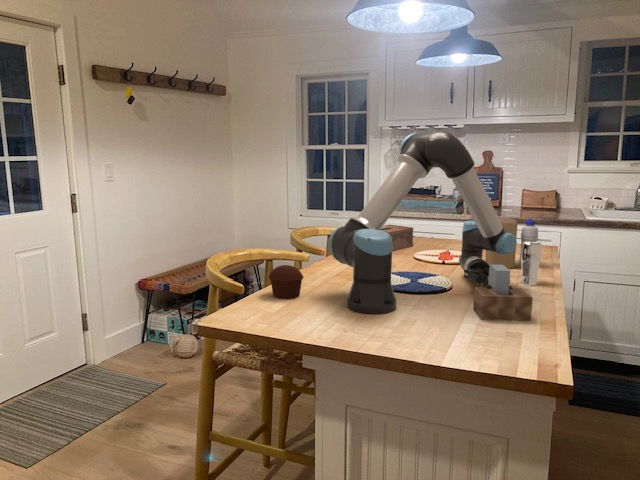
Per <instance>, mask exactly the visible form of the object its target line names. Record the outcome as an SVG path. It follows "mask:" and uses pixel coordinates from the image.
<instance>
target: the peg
mask: <svg viewBox="0 0 640 480" xmlns="http://www.w3.org/2000/svg"><path fill="white" fill-rule="evenodd" d="M510 281H511V269H508V268H506V267H505V266H504V265H491V264H490V265H489V281H488V285H491V289H492V290H493V291H494V292H495V293H496V294H497V295H509V285H511V284H510Z"/></svg>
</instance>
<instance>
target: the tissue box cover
mask: <svg viewBox="0 0 640 480" xmlns="http://www.w3.org/2000/svg"><path fill="white" fill-rule="evenodd" d="M380 231H384V232H386V233H388V234H389V235H390V236H391V238H392V246H393V250H392V253H393V252H398V251H402V250H405V249H409V248H412V247H413V246H414V245H413V244H414V243H413V242H414V241H413V240H414V227H411V226H404V225H397V224H384V225H383V226H382V228H381V229H380Z"/></svg>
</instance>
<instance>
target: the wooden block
mask: <svg viewBox="0 0 640 480" xmlns="http://www.w3.org/2000/svg"><path fill="white" fill-rule="evenodd" d="M498 218H499V220H500V222H501V224H502V226H503V228H504V230H505V232H506V233H510V234H513V235H514V236H515V237H516V238H517V233H518V221H517V220H515V219H513V218H511V217H498ZM516 249H517V247H516V248H515V250H514V251H513V252H512V253H511V254H508V255H505V254H498V253H495V252H491V251H487V250H485V259H484V261H485V262H487V263H488V264H489V265H490V264H491V265H504V266H505V267H506V268H508V269H509V270H513V269H515V267H516V266H515V265H516V264H515V262H516V252H517V251H516Z"/></svg>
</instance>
